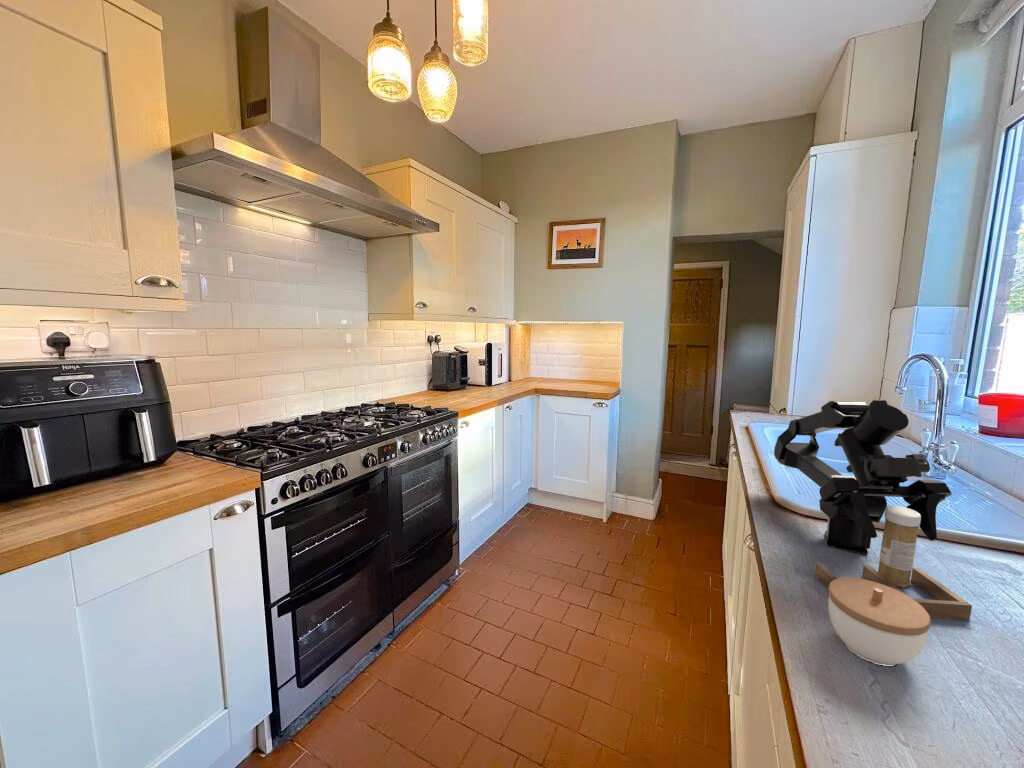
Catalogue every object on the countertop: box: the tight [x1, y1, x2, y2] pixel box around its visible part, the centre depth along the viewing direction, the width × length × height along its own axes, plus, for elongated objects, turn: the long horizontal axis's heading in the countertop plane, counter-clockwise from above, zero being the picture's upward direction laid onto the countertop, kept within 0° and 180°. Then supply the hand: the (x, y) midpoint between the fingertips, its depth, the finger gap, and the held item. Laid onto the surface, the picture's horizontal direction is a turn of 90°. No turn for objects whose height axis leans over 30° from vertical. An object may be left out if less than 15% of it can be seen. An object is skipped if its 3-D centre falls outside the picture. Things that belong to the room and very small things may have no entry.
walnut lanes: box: [813, 562, 973, 621], centre depth 70 cm, size 10×17×2 cm, turn 83°
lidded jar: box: [827, 577, 932, 666], centre depth 58 cm, size 11×11×9 cm
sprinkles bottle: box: [876, 505, 921, 588], centre depth 73 cm, size 5×5×13 cm
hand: (903, 538), depth 71 cm, fingers open, 9 cm apart
